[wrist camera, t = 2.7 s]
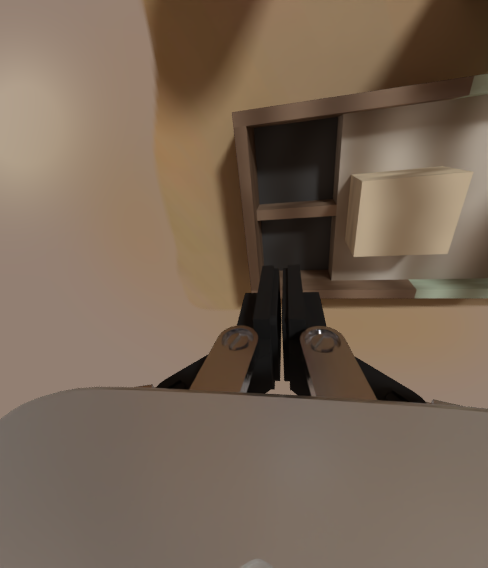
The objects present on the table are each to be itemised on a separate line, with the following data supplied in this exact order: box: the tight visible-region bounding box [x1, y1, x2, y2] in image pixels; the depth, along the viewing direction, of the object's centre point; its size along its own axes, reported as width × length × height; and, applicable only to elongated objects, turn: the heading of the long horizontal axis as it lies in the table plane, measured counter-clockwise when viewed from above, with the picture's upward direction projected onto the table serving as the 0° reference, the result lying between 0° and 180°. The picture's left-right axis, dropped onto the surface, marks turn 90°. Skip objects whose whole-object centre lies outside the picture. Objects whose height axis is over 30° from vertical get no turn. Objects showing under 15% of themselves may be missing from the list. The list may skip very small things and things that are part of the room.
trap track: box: [232, 74, 488, 298], centre depth 23 cm, size 26×17×5 cm, turn 96°
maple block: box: [345, 166, 473, 257], centre depth 21 cm, size 7×6×4 cm
